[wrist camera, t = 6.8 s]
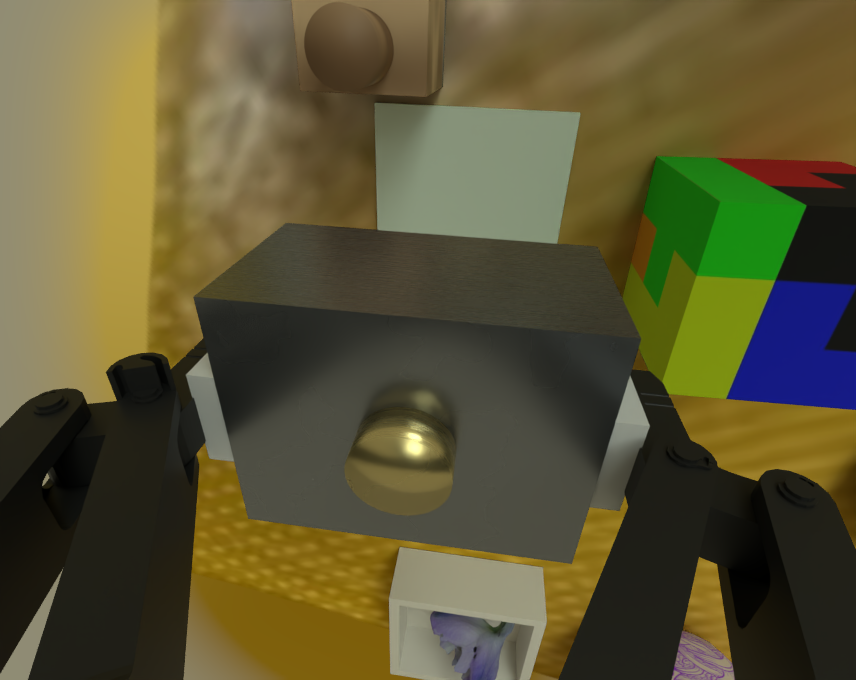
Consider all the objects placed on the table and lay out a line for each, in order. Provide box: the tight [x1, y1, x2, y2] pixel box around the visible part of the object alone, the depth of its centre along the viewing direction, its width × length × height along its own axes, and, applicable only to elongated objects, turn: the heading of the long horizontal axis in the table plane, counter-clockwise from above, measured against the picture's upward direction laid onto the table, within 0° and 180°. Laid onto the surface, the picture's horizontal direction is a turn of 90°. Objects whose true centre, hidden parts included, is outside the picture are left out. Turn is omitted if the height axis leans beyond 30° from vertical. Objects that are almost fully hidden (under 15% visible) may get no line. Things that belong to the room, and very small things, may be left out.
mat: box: [374, 102, 581, 244], centre depth 31 cm, size 12×10×1 cm
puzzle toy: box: [622, 156, 856, 410], centre depth 26 cm, size 10×10×10 cm
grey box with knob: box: [194, 223, 641, 564], centre depth 13 cm, size 9×7×6 cm
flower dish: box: [389, 547, 547, 680], centre depth 52 cm, size 15×15×6 cm
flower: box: [430, 611, 515, 680], centre depth 50 cm, size 9×9×10 cm
